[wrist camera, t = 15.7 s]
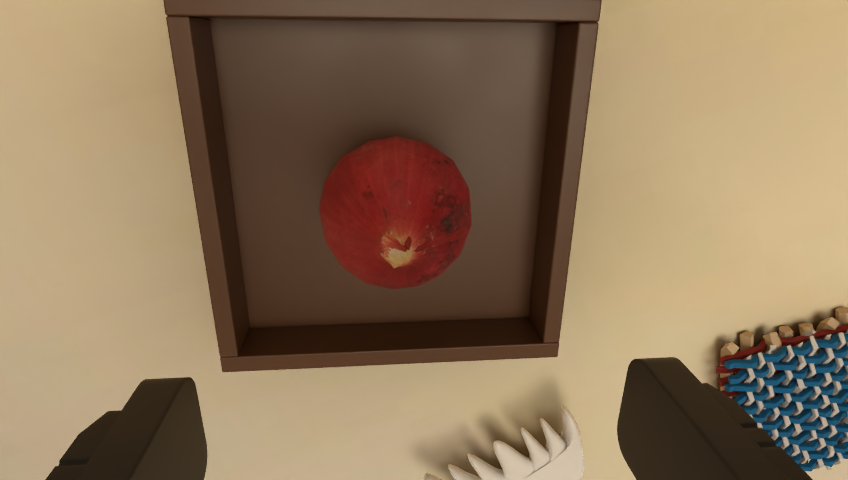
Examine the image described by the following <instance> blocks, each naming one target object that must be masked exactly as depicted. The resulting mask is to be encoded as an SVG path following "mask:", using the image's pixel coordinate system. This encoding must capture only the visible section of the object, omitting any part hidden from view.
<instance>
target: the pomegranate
mask: <svg viewBox="0 0 848 480" xmlns="http://www.w3.org/2000/svg"><path fill="white" fill-rule="evenodd" d="M319 213H320V218H321V222H322V227H323V232H324V236H325V240H326V244H327V245H328V247H329V248H330V250H331V251H332V253H333V254H334V256H335V257H336V259H337V260H338V262H339V263H340V265H341V266H342V267H343V268H344V269H345V270H347V271H348V272H350V273H351V274H353V275H354V276H356V277H357V278H359V279H360V280H362V281H363V282H365V283H366V284H370V285H375V286H379V287H384V288H388V289H400V288H409V287H417V286H420V285H422V284H424V283H426V282H428V281H430V280H432V279H434V278H436V277H438V276H440V275H441V274H442V273H443V272H444V271H445V270H446V269H447V268H448V267H449V266H450V265H451V264H452V263H453V262H454V261H455V260H456V259H457V258H458V257H459V256H460V254H461V252H462V249H463V247H464V244H465V241H466V239H467V236H468V234H469V231H470V228H471V226H472V218H471V203H470V191H469V187H468V185H467V183H466V182H465V180H464V178H463V177H462V175H461V173H460V171H459V170H458V168H457V166H456V165H455V163H454V161H453V160H452V159H451V158H449V157H448V156H446V155H445V154H443V153H442V152H440V151H439V150H437V149H436V148H434V147H433V146H431V145H430V144H428V143H427V142H422V141H417V140H413V139H408V138H403V137H398V136H395V137H390V138H384V139H377V140H370V141H367V142H366V143H364V144H362V145H361V146H359V147H357V148H356V149H354V150H352V151H351V152H349V153H347V154H346V155H344V156H343V157H341V158H340V160H339V161H338V163H337V164H336V166H335V167H334V168H333V170H332V171H331V173H330V174H329V176H328V177H327V178H326V180H325V181H324V185H323V190H322V196H321V201H320V206H319Z"/></svg>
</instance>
